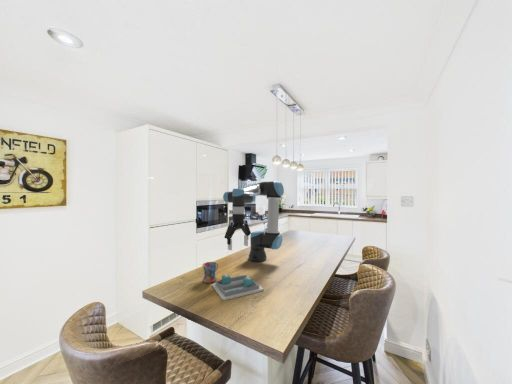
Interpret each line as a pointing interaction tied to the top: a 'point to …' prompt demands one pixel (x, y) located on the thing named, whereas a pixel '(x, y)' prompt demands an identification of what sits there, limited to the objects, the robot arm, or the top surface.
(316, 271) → the top surface
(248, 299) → the top surface
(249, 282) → the tab
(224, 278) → the tab
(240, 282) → the switch board
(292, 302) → the top surface
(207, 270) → the mug
